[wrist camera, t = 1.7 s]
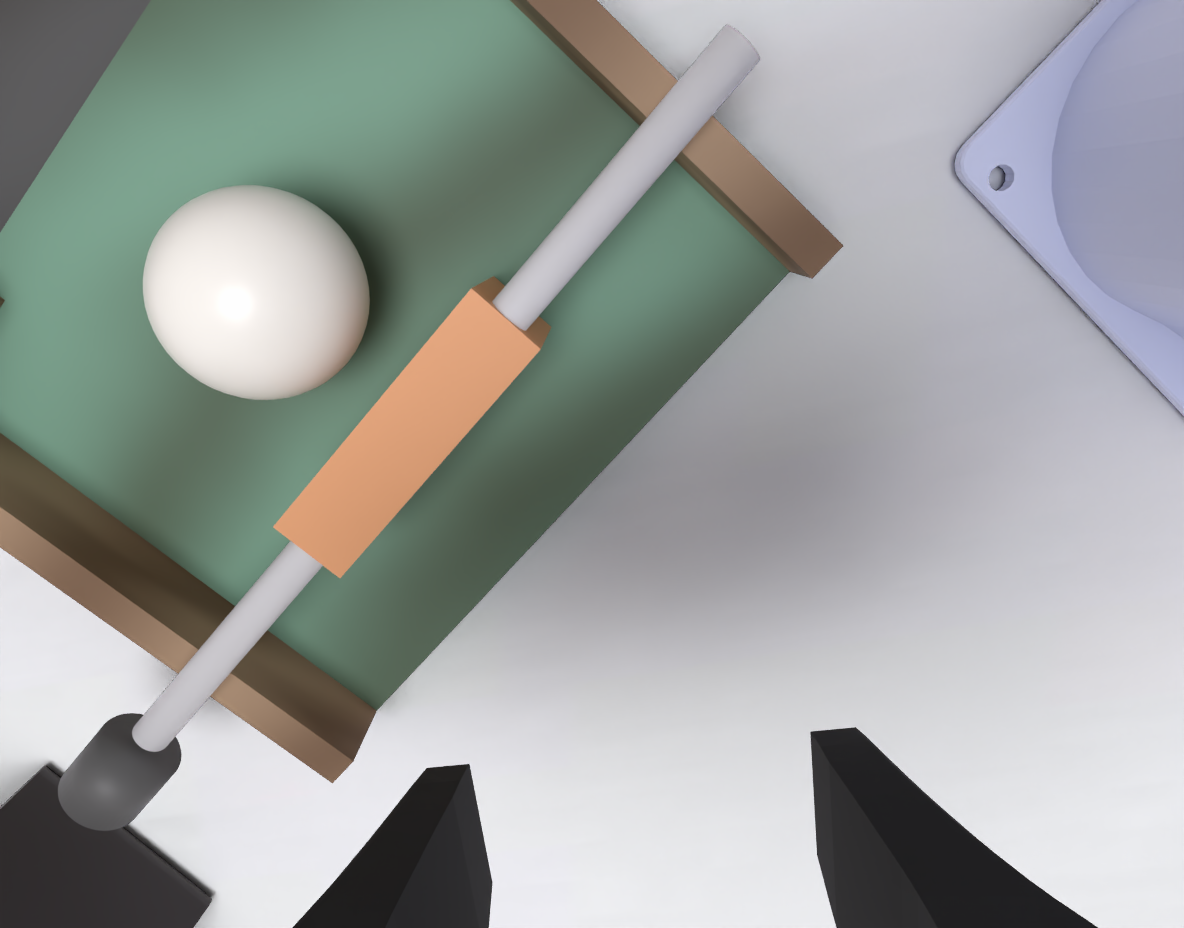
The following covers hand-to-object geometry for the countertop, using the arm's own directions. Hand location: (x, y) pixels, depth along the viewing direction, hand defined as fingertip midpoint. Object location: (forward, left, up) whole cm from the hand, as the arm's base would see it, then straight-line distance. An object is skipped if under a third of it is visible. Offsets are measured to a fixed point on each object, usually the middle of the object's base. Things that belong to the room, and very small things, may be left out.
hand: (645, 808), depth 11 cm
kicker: (+6, +1, -8) cm, 10 cm away
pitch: (+13, 0, -9) cm, 16 cm away
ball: (+10, 0, -6) cm, 12 cm away
